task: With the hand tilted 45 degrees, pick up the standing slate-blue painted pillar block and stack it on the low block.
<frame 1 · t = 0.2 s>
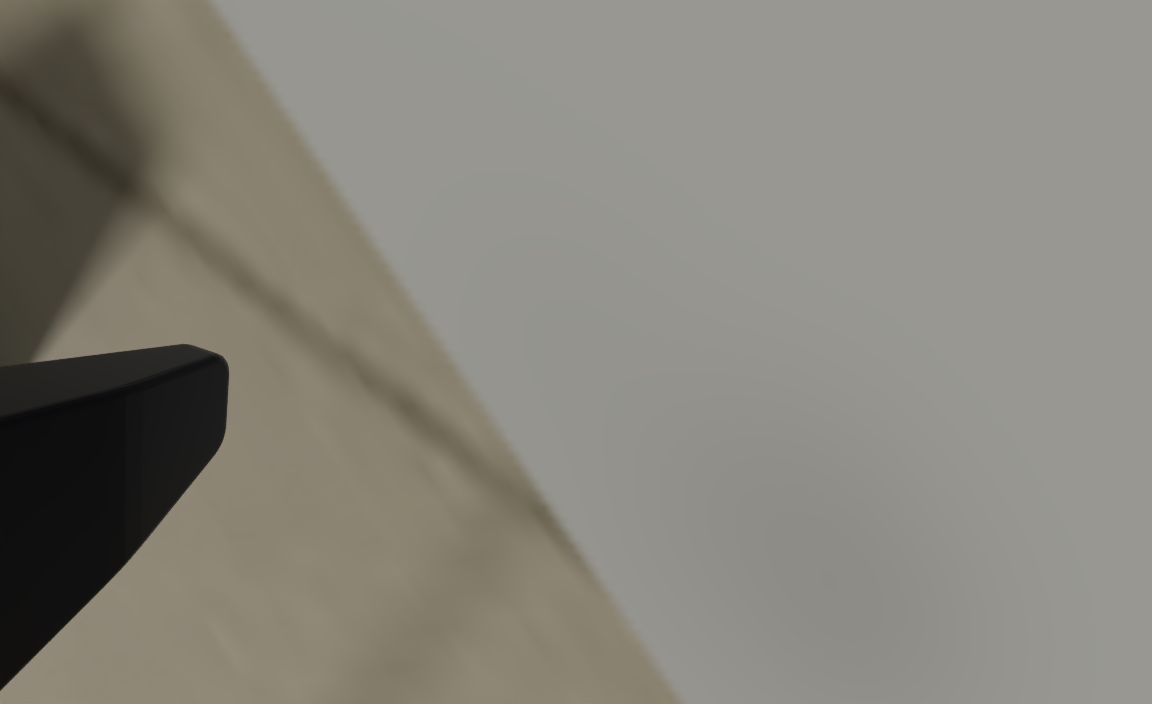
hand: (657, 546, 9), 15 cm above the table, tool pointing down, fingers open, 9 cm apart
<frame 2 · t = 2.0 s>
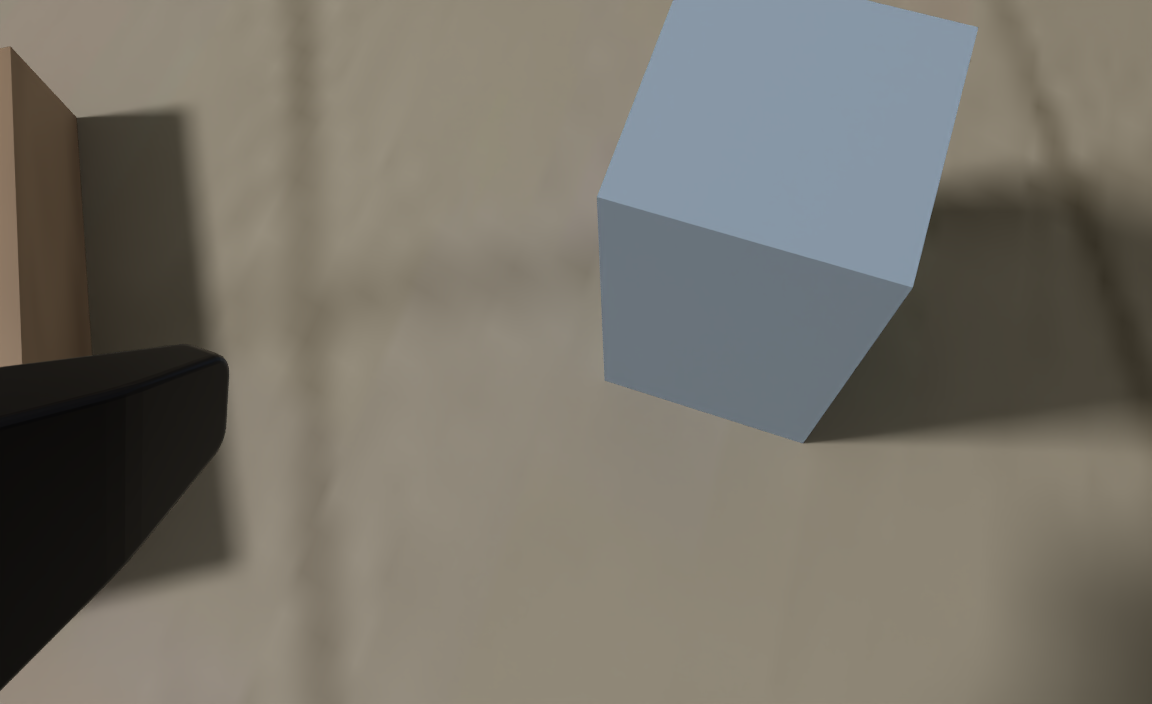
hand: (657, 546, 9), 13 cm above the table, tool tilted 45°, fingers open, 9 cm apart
pillar block: (730, 320, 24), on the table
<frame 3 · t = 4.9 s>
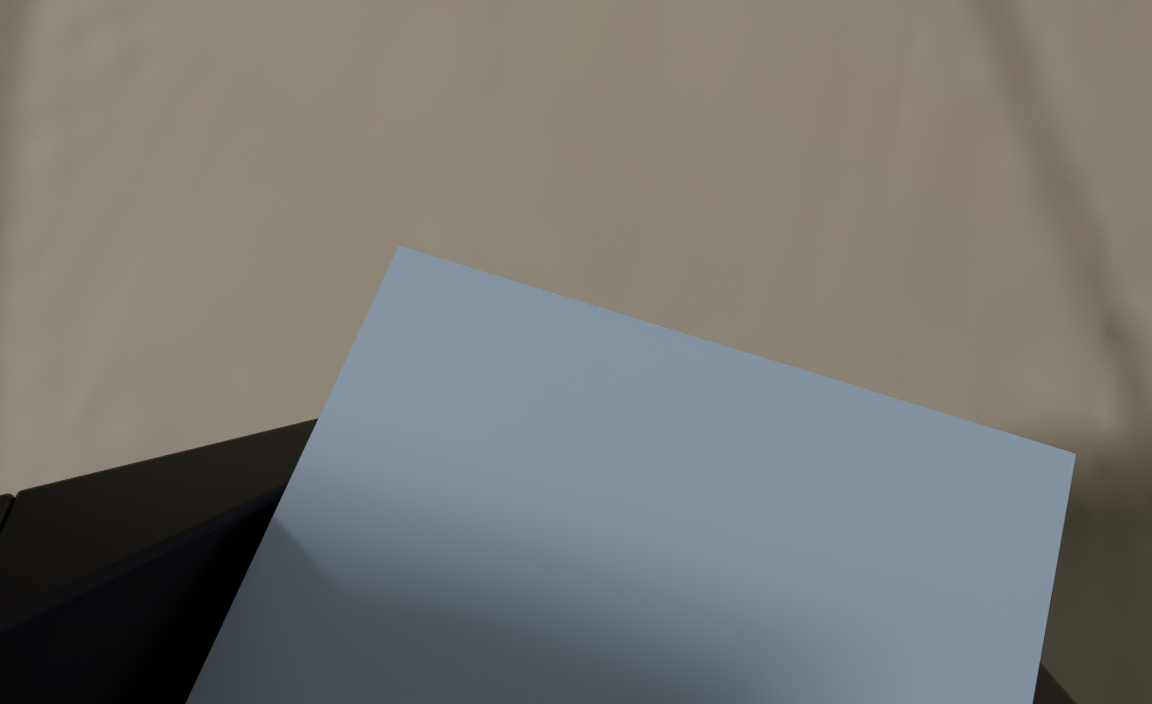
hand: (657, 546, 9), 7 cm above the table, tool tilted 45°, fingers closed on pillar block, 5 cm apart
when the fingers open (11 cm above the table, at t = 8.3 s): pillar block drops 1 cm, resting on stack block.
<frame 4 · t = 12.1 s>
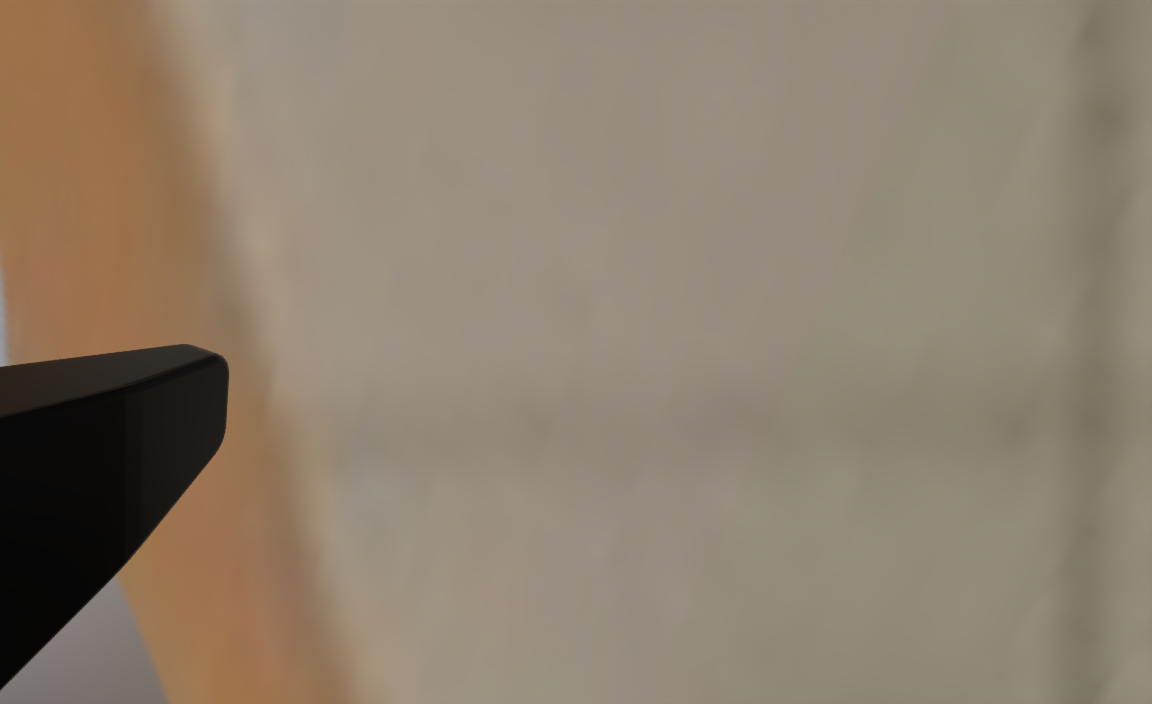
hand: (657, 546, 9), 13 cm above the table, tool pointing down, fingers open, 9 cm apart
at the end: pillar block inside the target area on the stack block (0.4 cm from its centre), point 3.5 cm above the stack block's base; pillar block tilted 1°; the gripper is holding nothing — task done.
